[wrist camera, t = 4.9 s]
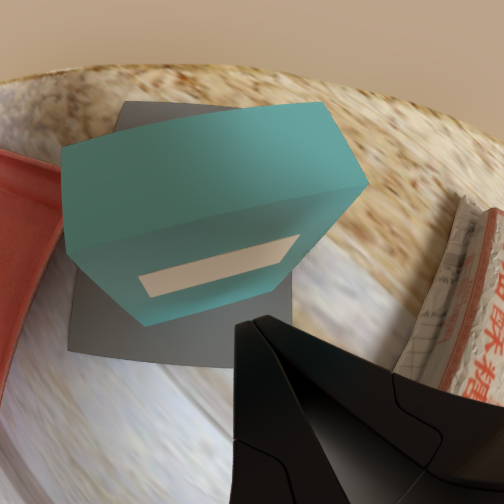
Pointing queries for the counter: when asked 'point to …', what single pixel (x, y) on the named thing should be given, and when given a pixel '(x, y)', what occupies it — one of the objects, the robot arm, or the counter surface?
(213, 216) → the box
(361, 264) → the counter surface
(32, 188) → the plant saucer
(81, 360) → the counter surface
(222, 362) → the mat
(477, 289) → the packaged product
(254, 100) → the counter surface
